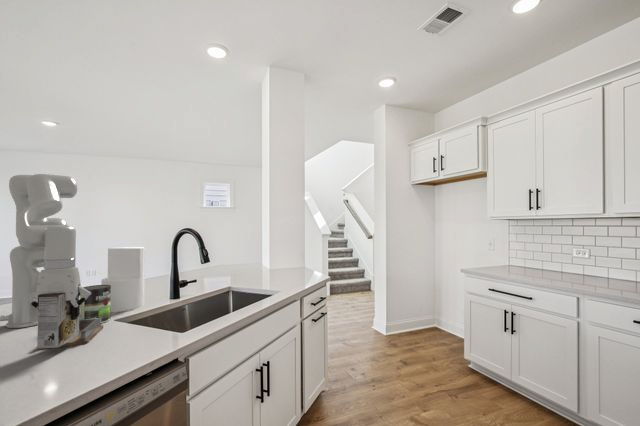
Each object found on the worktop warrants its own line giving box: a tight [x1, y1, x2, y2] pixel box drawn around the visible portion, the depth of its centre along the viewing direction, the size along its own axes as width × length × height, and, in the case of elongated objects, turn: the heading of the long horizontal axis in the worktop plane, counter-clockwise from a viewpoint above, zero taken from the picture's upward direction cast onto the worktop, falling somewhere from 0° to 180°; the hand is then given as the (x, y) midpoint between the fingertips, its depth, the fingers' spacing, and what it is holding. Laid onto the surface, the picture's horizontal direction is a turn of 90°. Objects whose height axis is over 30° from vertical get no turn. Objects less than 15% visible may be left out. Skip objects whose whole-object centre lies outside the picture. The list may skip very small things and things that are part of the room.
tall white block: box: [100, 246, 146, 313], centre depth 145 cm, size 17×17×28 cm
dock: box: [37, 318, 104, 351], centre depth 106 cm, size 13×16×4 cm
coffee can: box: [79, 284, 112, 325], centre depth 123 cm, size 10×10×14 cm
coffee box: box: [36, 293, 80, 349], centre depth 96 cm, size 9×6×16 cm
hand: (59, 320), depth 96 cm, fingers closed on coffee box, 7 cm apart
